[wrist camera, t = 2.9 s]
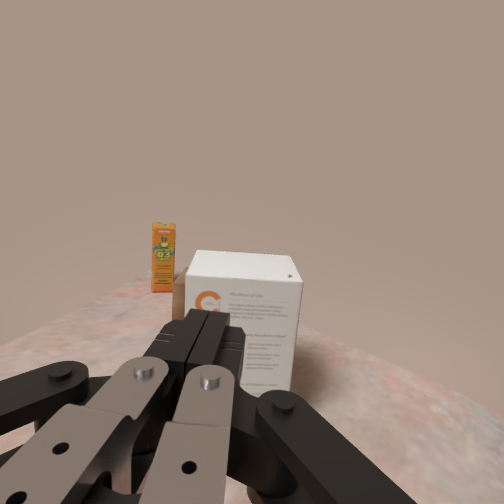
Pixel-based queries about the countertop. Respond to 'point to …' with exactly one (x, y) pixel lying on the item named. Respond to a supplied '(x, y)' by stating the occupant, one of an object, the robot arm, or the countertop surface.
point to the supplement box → (163, 256)
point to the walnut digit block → (179, 297)
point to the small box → (252, 309)
